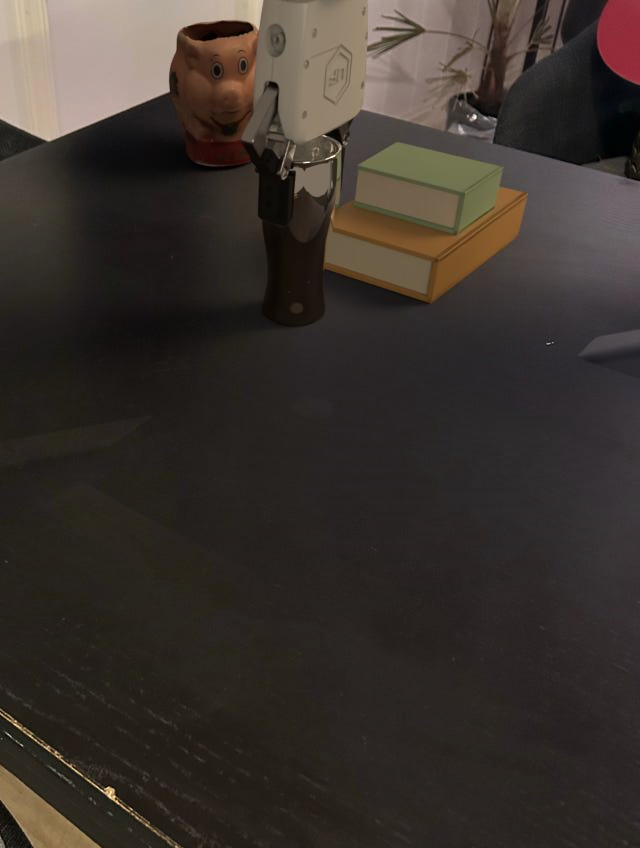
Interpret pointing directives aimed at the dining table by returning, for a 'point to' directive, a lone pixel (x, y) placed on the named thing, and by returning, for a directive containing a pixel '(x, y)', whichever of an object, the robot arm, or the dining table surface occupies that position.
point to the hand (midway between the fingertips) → (300, 204)
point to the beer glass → (303, 235)
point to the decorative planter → (215, 88)
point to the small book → (427, 187)
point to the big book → (419, 247)
